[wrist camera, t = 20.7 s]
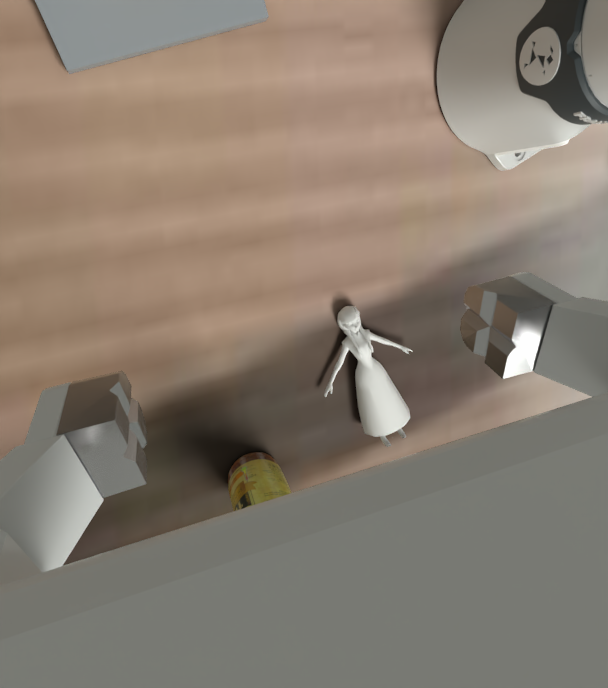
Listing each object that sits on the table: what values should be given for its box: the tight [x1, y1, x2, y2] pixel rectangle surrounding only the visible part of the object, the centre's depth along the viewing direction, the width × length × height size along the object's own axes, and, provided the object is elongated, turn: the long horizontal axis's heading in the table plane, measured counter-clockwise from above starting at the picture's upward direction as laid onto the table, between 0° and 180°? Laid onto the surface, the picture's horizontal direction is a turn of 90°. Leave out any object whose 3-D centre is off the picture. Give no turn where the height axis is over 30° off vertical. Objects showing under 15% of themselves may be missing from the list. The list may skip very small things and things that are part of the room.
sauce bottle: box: [228, 452, 291, 511], centre depth 40 cm, size 7×6×20 cm
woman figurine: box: [324, 306, 413, 447], centre depth 48 cm, size 12×4×18 cm
